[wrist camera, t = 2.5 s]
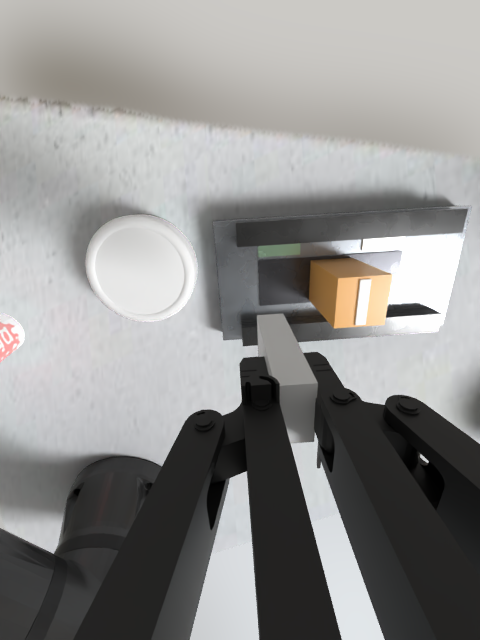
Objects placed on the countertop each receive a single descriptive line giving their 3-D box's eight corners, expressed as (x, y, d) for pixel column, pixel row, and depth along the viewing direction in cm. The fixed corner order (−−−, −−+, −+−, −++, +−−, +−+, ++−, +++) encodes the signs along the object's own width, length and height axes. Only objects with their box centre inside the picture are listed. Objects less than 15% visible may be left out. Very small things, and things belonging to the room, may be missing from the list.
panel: (223, 332, 31) (223, 349, 28) (213, 220, 27) (212, 223, 23) (430, 317, 32) (456, 332, 28) (455, 205, 27) (491, 205, 24)
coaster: (89, 291, 29) (73, 302, 26) (111, 196, 26) (95, 195, 23) (180, 323, 31) (175, 337, 28) (212, 238, 28) (210, 243, 24)
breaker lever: (309, 300, 28) (334, 329, 21) (310, 260, 26) (339, 278, 20) (347, 297, 28) (385, 325, 22) (351, 257, 27) (393, 275, 20)
